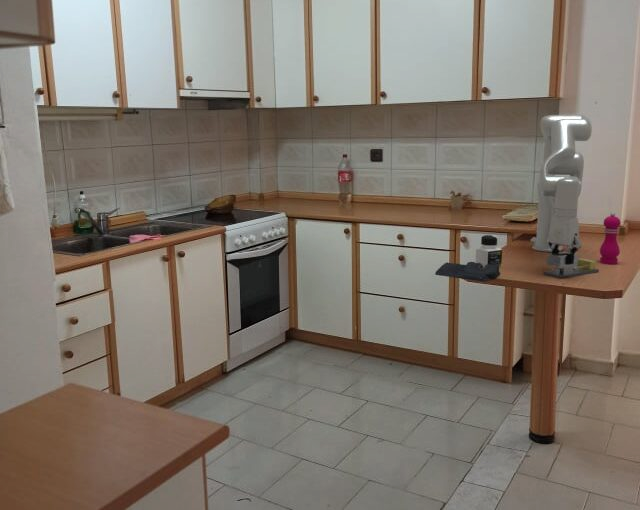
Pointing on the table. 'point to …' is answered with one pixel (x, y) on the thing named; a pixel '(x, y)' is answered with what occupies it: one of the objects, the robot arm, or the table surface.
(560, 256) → the link
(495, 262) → the medicine bottle
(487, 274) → the dark grey cloth
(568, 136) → the robot arm
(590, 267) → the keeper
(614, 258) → the pepper mill
